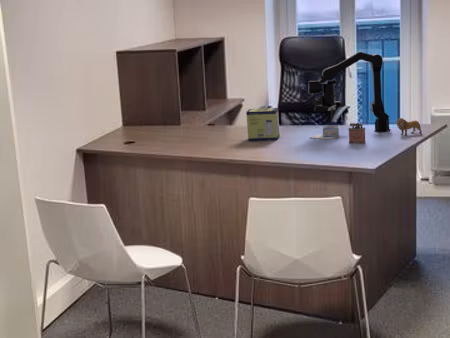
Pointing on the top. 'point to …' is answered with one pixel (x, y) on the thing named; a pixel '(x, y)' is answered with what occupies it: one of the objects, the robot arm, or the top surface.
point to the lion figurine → (408, 126)
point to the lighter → (356, 134)
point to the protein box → (263, 124)
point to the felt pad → (320, 136)
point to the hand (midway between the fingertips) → (329, 122)
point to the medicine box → (330, 131)
